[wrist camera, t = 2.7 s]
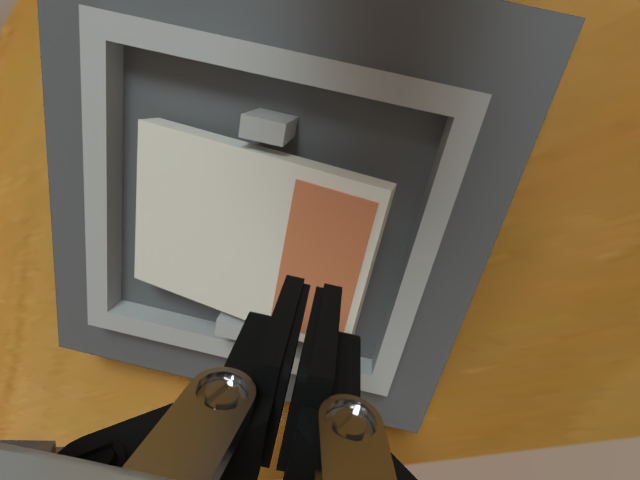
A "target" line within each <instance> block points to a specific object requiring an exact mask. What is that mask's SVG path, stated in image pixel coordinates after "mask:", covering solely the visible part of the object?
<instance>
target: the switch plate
mask: <svg viewBox="0 0 640 480" xmlns="http://www.w3.org/2000/svg"><path fill="white" fill-rule="evenodd" d="M37 5H38V20H39V36H40V52H41V68H42V83H43V99H44V115H45V131H46V147H47V162H48V178H49V194H50V210H51V226H52V241H53V257H54V273H55V289H56V305H57V320H58V336H59V346H60V347H64V348H68V349H72V350H76V351H80V352H84V353H88V354H92V355H97V356H101V357H105V358H109V359H113V360H117V361H121V362H125V363H129V364H133V365H138V366H142V367H146V368H150V369H154V370H158V371H162V372H166V373H170V374H175V375H179V376H183V377H187V378H191V379H193V378H194V377H196V376H197V375H198V374H199V373H201V372H203V371H205V370H207V369H210V368H215V367H224V365H225V363H226V361H227V358H228V356H229V354H230V352H231V350H232V348H233V346H234V343H235V341H236V339H237V337H238V335H239V333H240V331H241V328H242V326H243V324H244V322H245V320H243V319H240V318H238V317H235V316H233V315H230V314H227V313H225V312H222V311H220V310H217V309H214V308H212V307H209V306H207V305H204V304H201V303H199V302H196V301H194V300H191V299H188V298H186V297H183V296H181V295H178V294H175V293H173V292H170V291H168V290H165V289H162V288H160V287H157V286H155V285H152V284H149V283H147V282H144V281H141V280H139V279H136V278H134V268H135V227H136V185H137V144H138V119H148V118H162V119H166V120H169V121H173V122H177V123H180V124H184V125H187V126H191V127H195V128H198V129H202V130H205V131H209V132H213V133H216V134H220V135H223V136H227V137H231V138H234V139H238V140H241V141H245V142H249V143H252V144H256V145H259V146H263V147H267V148H270V149H274V150H277V151H281V152H285V153H288V154H292V155H295V156H299V157H303V158H306V159H310V160H313V161H317V162H321V163H324V164H328V165H331V166H335V167H339V168H342V169H346V170H349V171H353V172H357V173H360V174H364V175H367V176H371V177H375V178H378V179H382V180H386V181H389V182H393V183H396V184H397V185H396V189H395V192H394V196H393V199H392V203H391V206H390V210H389V213H388V217H387V220H386V224H385V228H384V231H383V235H382V238H381V242H380V245H379V249H378V252H377V256H376V259H375V263H374V266H373V270H372V273H371V277H370V280H369V284H368V287H367V291H366V294H365V298H364V302H363V305H362V309H361V312H360V316H359V319H358V323H357V326H356V330H355V333H354V335H358V336H360V339H361V398H362V399H364V400H366V401H367V402H369V403H370V404H371V405H372V406H374V407H375V409H376V410H377V411H378V412H379V414H380V416H381V418H382V420H383V423H384V426H388V427H392V428H396V429H401V430H405V431H409V432H413V433H418V431H419V428H420V426H421V423H422V421H423V418H424V416H425V413H426V411H427V409H428V406H429V404H430V401H431V399H432V396H433V394H434V391H435V389H436V386H437V384H438V381H439V379H440V376H441V374H442V371H443V369H444V367H445V364H446V362H447V359H448V357H449V354H450V352H451V349H452V347H453V344H454V342H455V339H456V337H457V334H458V332H459V330H460V327H461V325H462V322H463V320H464V317H465V315H466V312H467V310H468V307H469V305H470V302H471V300H472V297H473V295H474V292H475V290H476V288H477V285H478V283H479V280H480V278H481V275H482V273H483V270H484V268H485V265H486V263H487V260H488V258H489V255H490V253H491V250H492V248H493V246H494V243H495V241H496V238H497V236H498V233H499V231H500V228H501V226H502V223H503V221H504V218H505V216H506V213H507V211H508V209H509V206H510V204H511V201H512V199H513V196H514V194H515V191H516V189H517V186H518V184H519V181H520V179H521V176H522V174H523V171H524V169H525V167H526V164H527V162H528V159H529V157H530V154H531V152H532V149H533V147H534V144H535V142H536V139H537V137H538V134H539V132H540V130H541V127H542V125H543V122H544V120H545V117H546V115H547V112H548V110H549V107H550V105H551V102H552V100H553V97H554V95H555V92H556V90H557V88H558V85H559V83H560V80H561V78H562V75H563V73H564V70H565V68H566V65H567V63H568V60H569V58H570V55H571V53H572V51H573V48H574V46H575V43H576V41H577V38H578V36H579V33H580V31H581V28H582V26H583V23H584V21H585V18H583V17H578V16H573V15H569V14H564V13H559V12H555V11H550V10H545V9H540V8H536V7H531V6H526V5H522V4H517V3H512V2H508V1H503V0H37ZM302 348H303V342H300V341H298V345H297V349H296V354H295V358H294V363H293V367H292V372H291V376H290V380H289V385H288V389H287V393H286V397H285V401H286V402H290V403H291V398H292V393H293V389H294V384H295V379H296V375H297V370H298V365H299V361H300V356H301V352H302Z"/></svg>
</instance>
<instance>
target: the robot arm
mask: <svg viewBox="0 0 640 480" xmlns="http://www.w3.org/2000/svg"><path fill="white" fill-rule="evenodd" d="M304 280H305V279H304V278H300V277H295V276H291V275H286V278H285V281H284V283H283V286H282V289H281V291H280V294H279V297H278V300H277V302H276V305H275V308H274V310H273V313H272V316H269V315H265V314H260V313H256V312H251V311H250V312H249V314H248V316H247V318H246V320H245V322H244V324H243V326H242V328H241V331H240V333H239V335H238V337H237V339H236V341H235V343H234V346H233V348H232V350H231V352H230V354H229V356H228V358H227V361H226V363H225V365H224V367H215V368H210V369H207V370H205V371H203V372H201V373H199V374H198V375H197V376H196V377H194V378H193V379H192V381H191V382H190V383H189V384H188V386H187V387H186V388H185V389H184V391H183V392H182V393H181V394H180V396H179V397H178V398H177V399H176V401H175V402H174V403H172V404H169V405H166V406H164V407H161V408H158V409H156V410H153V411H150V412H147V413H145V414H142V415H139V416H137V417H134V418H131V419H129V420H126V421H123V422H121V423H118V424H115V425H112V426H110V427H107V428H104V429H102V430H99V431H96V432H94V433H91V434H88V435H86V436H83V437H81V438H79V439H77V440H75V441H73V442H71V443H69V444H68V445H67V446H65V447H56V443H55V441H31V440H0V480H257V478H258V474H259V470H260V467H261V466H262V467H266V468H269V466H270V462H271V458H272V453H273V449H274V445H275V440H276V436H277V432H278V428H279V423H280V419H281V415H282V410H283V406H284V402H285V397H286V393H287V389H288V385H289V380H290V376H291V372H292V367H293V363H294V358H295V354H296V349H297V345H298V340H299V336H300V331H301V327H302V322H303V318H304V313H305V309H306V304H307V299H308V295H309V290H310V286H311V285H309V284H304ZM341 299H342V287H340V286H335V285H331V284H326V283H324V287H323V288H322V287H318V286H316V290H315V295H314V299H313V304H312V308H311V312H310V317H309V321H308V326H307V330H306V334H305V339H304V343H303V348H302V352H301V356H300V361H299V365H298V370H297V375H296V379H295V384H294V389H293V393H292V398H291V403H290V407H289V412H288V417H287V421H286V426H285V431H284V435H283V440H282V445H281V449H280V454H279V459H278V463H277V468H276V470H279V471H284V477H283V480H417V479H416V478H415V477H414V476H413V475H412V474H411V473H410V472H409V471H408V470H407V468H405V466H404V465H403V464H402V463H401V462H400V461H399V460H398V459H397V458H396V457H395V456H394V455H393V454H392V453H391V452H390V448H389V444H388V439H387V435H386V431H385V427H384V423H383V420H382V418H381V416H380V414H379V412H378V411H377V410H376V409H375V407H374V406H372V405H371V404H370V403H369V402H367V401H366V400H364V399H362V398H361V339H360V336H358V335H353V334H349V333H344V332H340V331H339V322H340V311H341Z"/></svg>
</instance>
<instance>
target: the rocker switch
mask: <svg viewBox="0 0 640 480" xmlns="http://www.w3.org/2000/svg"><path fill="white" fill-rule="evenodd" d="M396 185H397V184H396V183H393V182H389V181H386V180H382V179H378V178H375V177H371V176H367V175H364V174H360V173H357V172H353V171H349V170H346V169H342V168H339V167H335V166H331V165H328V164H324V163H321V162H317V161H313V160H310V159H306V158H303V157H299V156H295V155H292V154H288V153H285V152H281V151H277V150H274V149H270V148H267V147H263V146H259V145H256V144H252V143H249V142H245V141H241V140H238V139H234V138H231V137H227V136H223V135H220V134H216V133H213V132H209V131H205V130H202V129H198V128H195V127H191V126H187V125H184V124H180V123H177V122H173V121H169V120H166V119H162V118H148V119H138V144H137V185H136V227H135V268H134V278H136V279H139V280H141V281H144V282H147V283H149V284H152V285H155V286H157V287H160V288H162V289H165V290H168V291H170V292H173V293H175V294H178V295H181V296H183V297H186V298H188V299H191V300H194V301H196V302H199V303H201V304H204V305H207V306H209V307H212V308H214V309H217V310H220V311H222V312H225V313H227V314H230V315H233V316H235V317H238V318H240V319H243V320H246V318H247V316H248V314H249V312H250V311H251V312H256V313H260V314H265V315H269V316H272V313H273V310H274V308H275V305H276V302H277V300H278V297H279V294H280V291H281V289H282V286H283V283H284V281H285V278H286V275H291V276H295V277H300V278H304V279H305V280H304V284H309V285H311V286H310V290H309V295H308V299H307V304H306V309H305V313H304V318H303V322H302V327H301V331H300V336H299V340H298V341H300V342H303V343H304V339H305V334H306V330H307V326H308V321H309V317H310V312H311V308H312V304H313V299H314V295H315V290H316V286H318V287H322V288H323V287H324V283H326V284H331V285H335V286H340V287H342V299H341V311H340V322H339V331H340V332H344V333H349V334H353V335H354V333H355V330H356V326H357V323H358V319H359V316H360V312H361V309H362V305H363V302H364V298H365V294H366V291H367V287H368V284H369V280H370V277H371V273H372V270H373V266H374V263H375V259H376V256H377V252H378V249H379V245H380V242H381V238H382V235H383V231H384V228H385V224H386V220H387V217H388V213H389V210H390V206H391V203H392V199H393V196H394V192H395V189H396Z"/></svg>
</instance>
